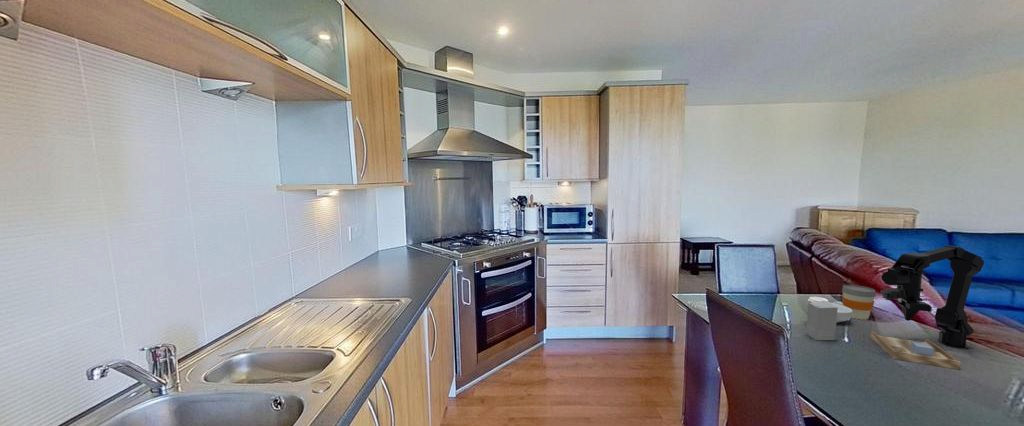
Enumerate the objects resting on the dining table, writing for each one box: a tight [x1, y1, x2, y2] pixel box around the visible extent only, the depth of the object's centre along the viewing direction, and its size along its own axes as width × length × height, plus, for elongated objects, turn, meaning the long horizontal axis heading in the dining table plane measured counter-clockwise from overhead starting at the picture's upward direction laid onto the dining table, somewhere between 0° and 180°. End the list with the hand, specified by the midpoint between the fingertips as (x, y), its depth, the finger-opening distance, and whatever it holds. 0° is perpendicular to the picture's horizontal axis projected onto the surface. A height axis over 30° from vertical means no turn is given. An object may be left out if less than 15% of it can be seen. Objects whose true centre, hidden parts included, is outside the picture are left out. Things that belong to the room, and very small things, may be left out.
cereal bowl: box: [829, 302, 853, 324], centre depth 181 cm, size 17×17×7 cm
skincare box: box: [805, 301, 838, 341], centre depth 159 cm, size 8×7×16 cm
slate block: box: [910, 342, 934, 357], centre depth 140 cm, size 4×4×4 cm
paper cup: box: [807, 296, 830, 303], centre depth 172 cm, size 8×8×14 cm
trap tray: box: [870, 330, 961, 370], centre depth 146 cm, size 18×22×3 cm
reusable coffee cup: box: [841, 284, 876, 320], centre depth 184 cm, size 13×13×15 cm
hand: (907, 320), depth 150 cm, fingers closed
